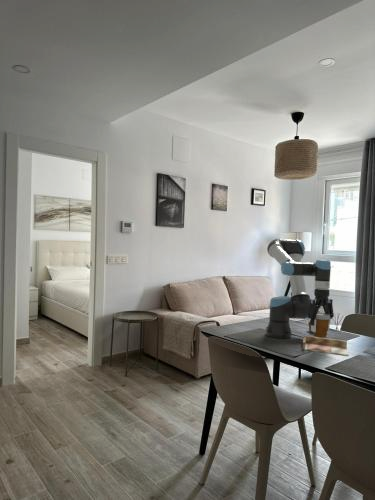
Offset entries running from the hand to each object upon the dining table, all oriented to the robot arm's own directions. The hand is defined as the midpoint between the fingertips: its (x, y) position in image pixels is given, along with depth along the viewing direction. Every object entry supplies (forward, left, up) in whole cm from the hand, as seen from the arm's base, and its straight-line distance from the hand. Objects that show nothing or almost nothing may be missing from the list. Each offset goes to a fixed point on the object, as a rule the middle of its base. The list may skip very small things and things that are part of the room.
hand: (320, 330), depth 189 cm
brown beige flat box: (+3, +1, -9) cm, 10 cm away
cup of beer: (0, 0, -3) cm, 3 cm away
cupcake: (-2, +41, -10) cm, 42 cm away
